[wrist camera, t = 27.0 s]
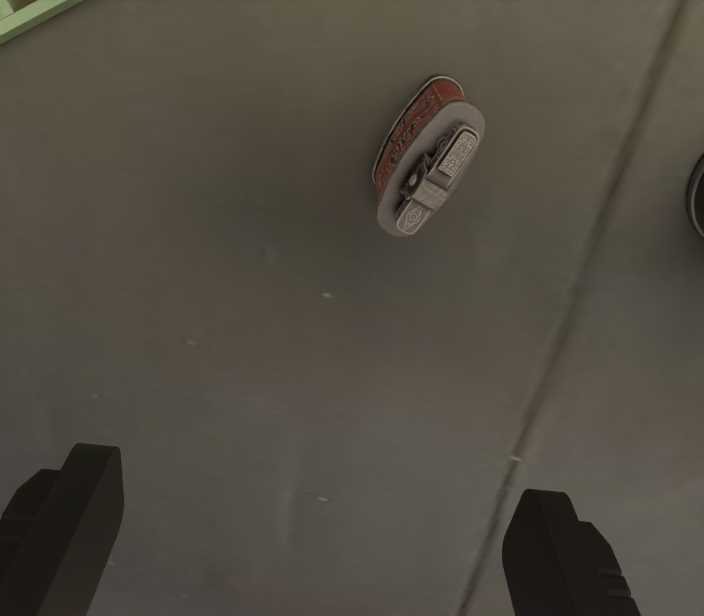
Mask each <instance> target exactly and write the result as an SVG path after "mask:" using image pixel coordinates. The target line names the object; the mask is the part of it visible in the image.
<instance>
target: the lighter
mask: <svg viewBox="0 0 704 616" xmlns="http://www.w3.org/2000/svg"><path fill="white" fill-rule="evenodd" d="M485 128H486V126H485V119H484V117H483V115H482V113H481V112H480V110H479V109H478V108H477V107H476V106H475V105H474V104H473V103H471V102H469V101H467V99H466V98H465V97H464V94H463V90H462V88H461V87H460V85H459V83H458V82H457V81H456V80H455V79H454V78H452V77H451V76H448V75H446V74H435V75H431V76H430V77H429V78H427V79H426V80H425V81H424V82H423V83H422V84H421V86H420V87H419V88H418V89H417V90H416V91H415V92H414V93H413V94H412V96H411V97H410V98H409V99H408V100H407V102H406V103H405V105H404V106H403V107H402V109H401V110H400V112H399V113H398V114H397V116H396V117H395V119H394V120H393V122H392V124H391V125H390V127H389V129H388V131H387V133H386V135H385V137H384V139H383V141H382V143H381V145H380V148H379V150H378V153H377V156H376V158H375V161H374V163H373V167H372V177H373V181H374V183H375V185H376V186H377V195H378V203H377V208H376V215H377V220H378V223H379V225H380V226H381V228H382V229H383V230H385V231H386V232H387V233H388V234H391V235H394V236H399V237H405V236H409V235H412V234H413V233H415V232H416V231H418V230H419V229H420V228H421V227H422V226H423V225H424V224H425V223H426V222H427V221H428V220H429V219H430V218H431V217H432V216H433V215H434V214H435V213H436V212H437V211H438V210H439V209H440V208H441V206H442V205H443V203H444V202H445V201H446V199H447V198H448V197H449V196H450V194H451V193H452V192H453V191H454V189H455V188H456V186H457V185H458V183H459V181H460V180H461V178H462V177H463V175H464V173H465V172H466V170H467V168H468V167H469V165H470V163H471V162H472V159H473V157H474V155H475V153H476V151H477V149H478V147H479V144H480V142H481V140H482V138H483V136H484V132H485Z"/></svg>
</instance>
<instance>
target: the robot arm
mask: <svg viewBox="0 0 704 616" xmlns="http://www.w3.org/2000/svg"><path fill="white" fill-rule="evenodd" d="M687 209H688V214H689V217H690V220H691V222H692V224H693V226H694V227H695V229H696V230H697V231H698V232H699V234H701V235H702V236H703V237H704V157H703V158H702V160H701V161H700V163H699V164H698V166H697V168H696V170H695V172H694V174H693V176H692V179H691V182H690V185H689V189H688V195H687ZM123 509H124V492H123V479H122V466H121V454H120V449H119V448H118V447H114V446H104V445H94V444H84V443H77V444H76V445H75V446H74V447H73V448H72V450H71V452H70V453H69V455H68V457H67V459H66V461H65V463H64V465H63V466H62V468H61V470H50V469H41V470H40V471H39V472H37V473H36V474H35V475H34V476H33V477H31V478H30V479H29V480H28V481H27V482H25V483H24V484H23V485H22V486H21V487H20V488H18V489H17V491H16V492H15V494H14V496H13V497H12V499H11V501H10V502H9V504H8V506H7V507H6V509H5V511H4V512H3V514H2V518H1V520H0V616H86V615H87V612H88V609H89V607H90V604H91V602H92V599H93V597H94V594H95V591H96V589H97V586H98V584H99V581H100V578H101V576H102V573H103V571H104V568H105V566H106V563H107V560H108V558H109V555H110V553H111V550H112V547H113V545H114V542H115V540H116V537H117V534H118V532H119V528H120V525H121V521H122V516H123ZM502 561H503V568H504V572H505V576H506V580H507V584H508V588H509V592H510V596H511V600H512V605H513V609H514V613H515V616H641V615H640V612H639V610H638V608H637V606H636V603H635V601H634V599H633V598H631V592H630V589H629V587H628V585H627V583H626V580H625V578H624V577H622V575H621V572H622V571H621V569H620V566H619V564H618V562H617V559H616V557H615V555H614V553H613V550H612V548H611V546H610V544H609V543H608V542H607V541H606V540H605V539H604V537H603V536H602V535H601V534H600V533H599V531H598V530H597V529H596V528H595V527H594V526H593V524H592V523H591V522H583V521H579V520H578V518H577V515H576V513H575V510H574V508H573V505H572V503H571V500H570V498H569V497H568V495H567V494H566V493H564V492H556V491H546V490H536V489H526V490H525V491H524V492H523V494H522V496H521V499H520V501H519V503H518V506H517V508H516V510H515V513H514V515H513V517H512V520H511V522H510V524H509V527H508V529H507V531H506V534H505V536H504V540H503V547H502Z"/></svg>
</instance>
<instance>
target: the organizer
mask: <svg viewBox="0 0 704 616" xmlns="http://www.w3.org/2000/svg"><path fill="white" fill-rule="evenodd" d="M81 1H83V0H0V44H2V43H4V42H6V41H8V40H10V39H12V38H13V37H15V36H17V35H19V34H21V33H23V32H25V31H27V30H29V29H30V28H32V27H34V26H36V25H38V24H40V23H42V22H44V21H46V20H47V19H49V18H51V17H53V16H55V15H57V14H59V13H61V12H62V11H64V10H66V9H68V8H70V7H72V6H74V5H76V4H78V3H79V2H81Z"/></svg>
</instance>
